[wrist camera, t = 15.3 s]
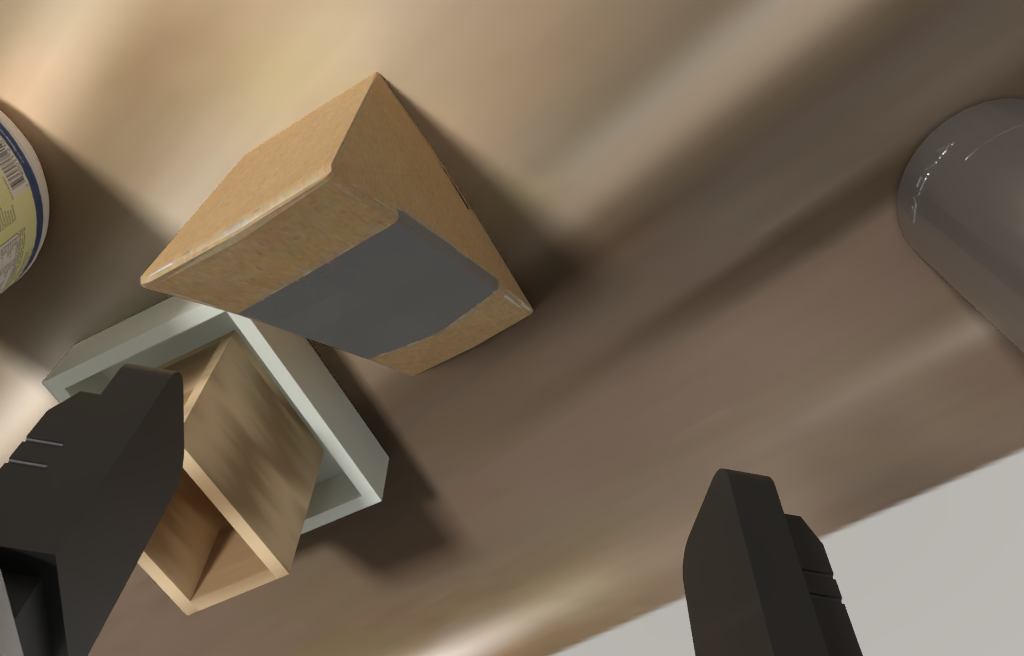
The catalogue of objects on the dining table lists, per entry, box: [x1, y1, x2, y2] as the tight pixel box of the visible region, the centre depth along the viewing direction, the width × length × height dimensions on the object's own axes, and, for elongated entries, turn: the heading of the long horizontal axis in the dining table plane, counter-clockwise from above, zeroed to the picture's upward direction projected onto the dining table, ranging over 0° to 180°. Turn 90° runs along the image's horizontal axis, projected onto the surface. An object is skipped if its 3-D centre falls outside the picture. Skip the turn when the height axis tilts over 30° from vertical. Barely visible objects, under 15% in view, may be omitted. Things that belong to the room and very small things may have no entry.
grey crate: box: [42, 296, 389, 535], centre depth 49 cm, size 15×12×4 cm
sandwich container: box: [140, 72, 533, 376], centre depth 39 cm, size 9×15×15 cm, turn 30°
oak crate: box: [137, 330, 324, 615], centre depth 45 cm, size 9×6×10 cm, turn 26°
